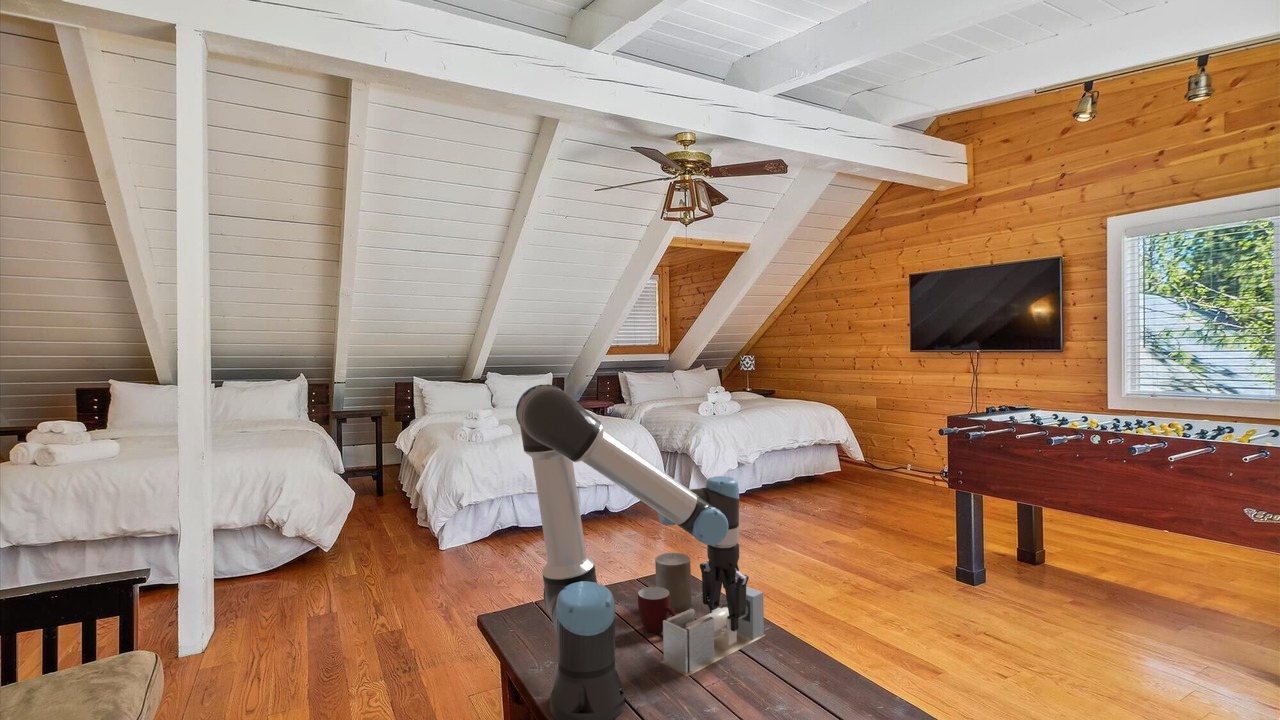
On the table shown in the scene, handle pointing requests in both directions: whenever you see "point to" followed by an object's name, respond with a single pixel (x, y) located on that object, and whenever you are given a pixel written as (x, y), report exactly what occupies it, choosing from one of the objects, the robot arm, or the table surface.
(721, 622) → the slip tube
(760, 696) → the table surface
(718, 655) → the base board
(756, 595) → the socket block
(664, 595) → the mug
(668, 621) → the grey u-shaped bracket
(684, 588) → the pillar candle
